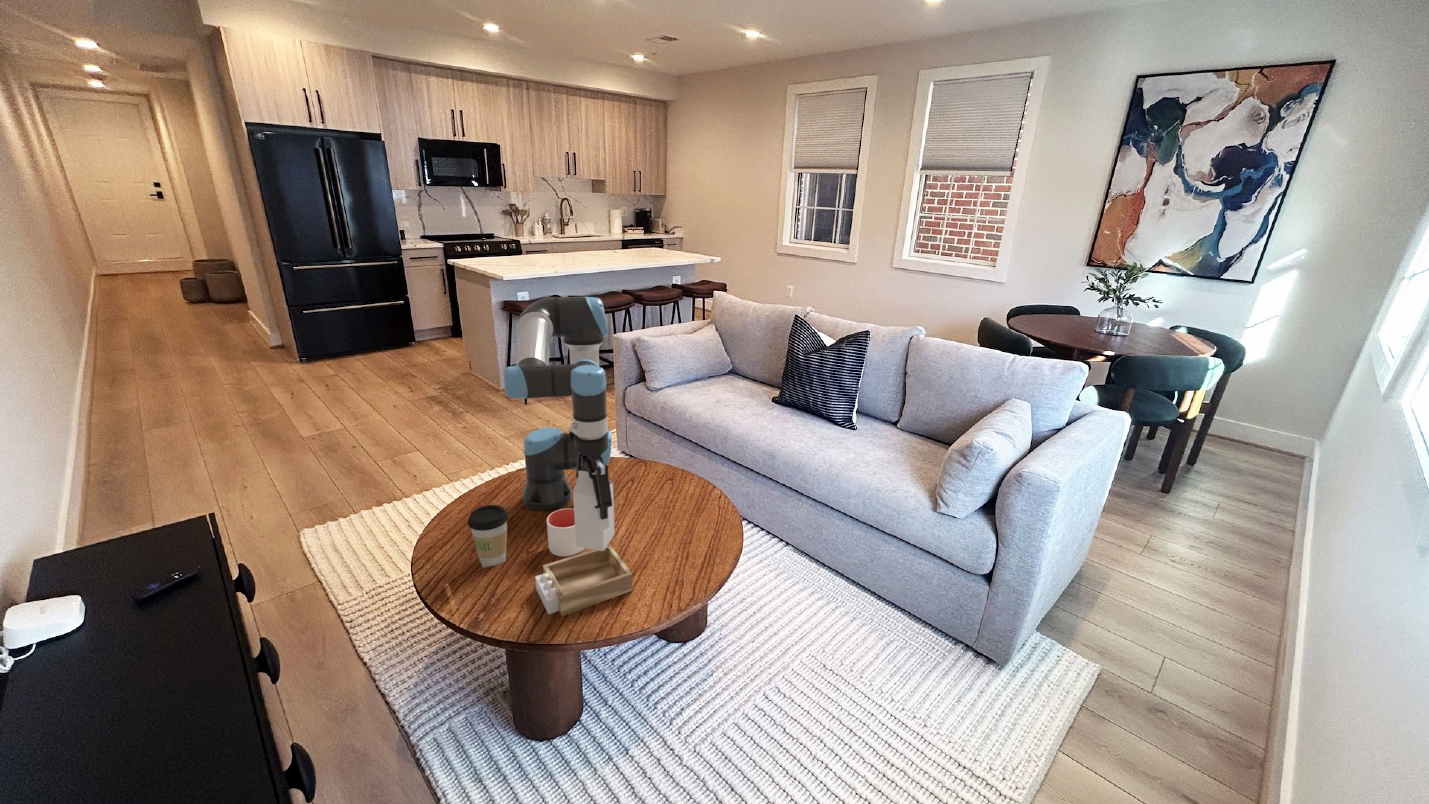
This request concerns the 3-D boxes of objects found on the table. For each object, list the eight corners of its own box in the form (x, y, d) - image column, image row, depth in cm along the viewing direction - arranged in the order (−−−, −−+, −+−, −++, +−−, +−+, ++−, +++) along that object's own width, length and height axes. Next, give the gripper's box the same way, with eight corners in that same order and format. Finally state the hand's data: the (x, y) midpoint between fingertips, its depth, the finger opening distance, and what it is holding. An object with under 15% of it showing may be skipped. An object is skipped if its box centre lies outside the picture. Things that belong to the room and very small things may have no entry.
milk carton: (603, 552, 132) (601, 481, 125) (576, 547, 133) (571, 477, 126) (614, 535, 138) (612, 467, 132) (588, 531, 140) (584, 464, 133)
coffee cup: (473, 554, 151) (466, 507, 145) (511, 547, 154) (506, 500, 149) (474, 576, 142) (466, 527, 137) (514, 568, 146) (509, 519, 141)
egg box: (536, 589, 137) (534, 572, 135) (552, 584, 139) (551, 567, 137) (548, 614, 129) (546, 596, 127) (565, 608, 131) (563, 590, 129)
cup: (592, 542, 158) (591, 512, 154) (573, 563, 149) (571, 531, 145) (562, 535, 161) (560, 505, 157) (541, 554, 152) (539, 523, 148)
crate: (544, 585, 140) (542, 565, 138) (611, 563, 149) (610, 544, 147) (561, 619, 129) (560, 598, 127) (632, 593, 139) (632, 574, 136)
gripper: (559, 419, 132) (564, 500, 140) (592, 456, 115) (596, 546, 123) (589, 414, 136) (592, 493, 144) (626, 449, 119) (628, 537, 127)
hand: (594, 517), depth 133 cm, fingers closed on milk carton, 10 cm apart
